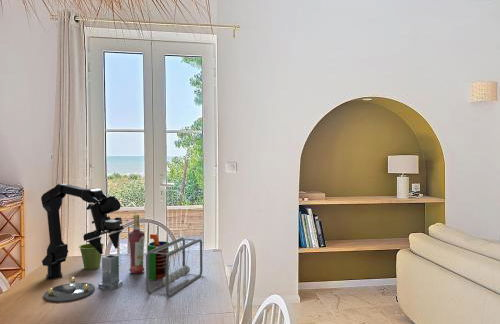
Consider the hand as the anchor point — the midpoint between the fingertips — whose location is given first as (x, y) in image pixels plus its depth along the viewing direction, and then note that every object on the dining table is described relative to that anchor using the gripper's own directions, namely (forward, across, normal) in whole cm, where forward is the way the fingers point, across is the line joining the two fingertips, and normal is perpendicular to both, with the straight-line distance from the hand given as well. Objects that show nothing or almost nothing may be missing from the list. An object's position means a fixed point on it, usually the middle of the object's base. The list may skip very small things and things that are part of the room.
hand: (109, 251), depth 164 cm
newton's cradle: (+23, +11, -20) cm, 33 cm away
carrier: (+11, -13, +14) cm, 22 cm away
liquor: (+14, +18, +5) cm, 24 cm away
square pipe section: (+15, -1, +4) cm, 15 cm away
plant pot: (+6, +17, +30) cm, 35 cm away
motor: (+19, +17, -7) cm, 26 cm away
